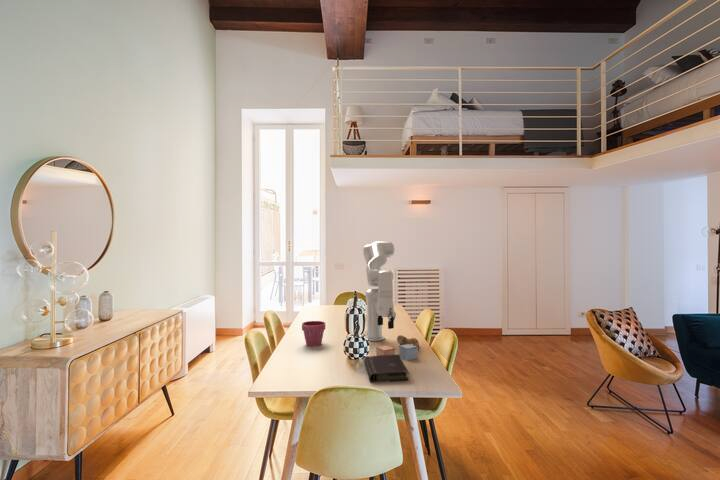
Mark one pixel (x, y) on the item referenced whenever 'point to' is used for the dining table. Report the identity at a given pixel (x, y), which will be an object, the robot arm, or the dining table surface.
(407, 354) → the blue cube
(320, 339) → the plant pot
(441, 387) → the dining table surface
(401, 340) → the lion figurine
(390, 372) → the diary
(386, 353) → the reddish brown cube
